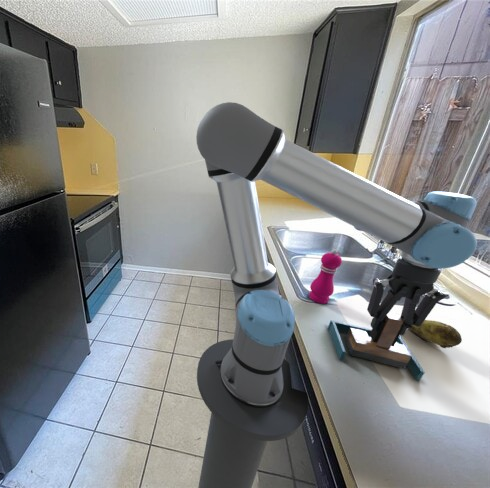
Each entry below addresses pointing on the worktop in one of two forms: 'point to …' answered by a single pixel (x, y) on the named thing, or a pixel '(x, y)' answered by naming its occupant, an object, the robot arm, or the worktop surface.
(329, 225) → the worktop surface
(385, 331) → the wooden t-shaped block
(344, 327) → the teal u-shaped frame
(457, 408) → the worktop surface
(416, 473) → the worktop surface
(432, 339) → the yellow-green oblong lump
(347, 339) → the walnut block
